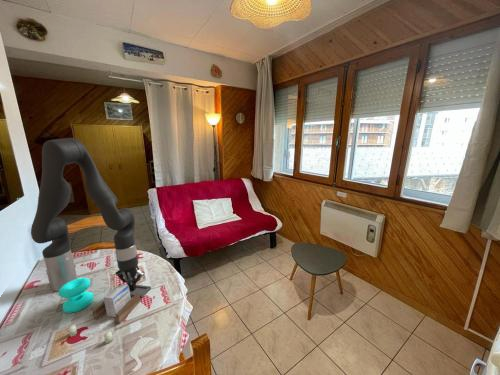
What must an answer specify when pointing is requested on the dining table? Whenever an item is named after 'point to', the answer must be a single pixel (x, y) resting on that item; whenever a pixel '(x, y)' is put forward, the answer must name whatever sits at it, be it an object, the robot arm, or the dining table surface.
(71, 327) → the pair of cream knobs
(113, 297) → the medicine box
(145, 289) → the pit tray
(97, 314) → the channel
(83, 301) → the turquoise spool
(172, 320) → the dining table surface
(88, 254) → the dining table surface
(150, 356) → the dining table surface
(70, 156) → the robot arm
